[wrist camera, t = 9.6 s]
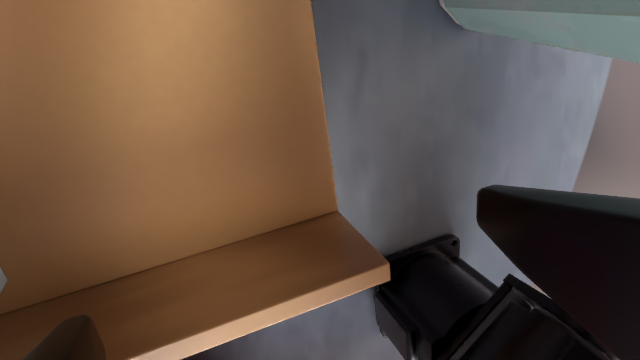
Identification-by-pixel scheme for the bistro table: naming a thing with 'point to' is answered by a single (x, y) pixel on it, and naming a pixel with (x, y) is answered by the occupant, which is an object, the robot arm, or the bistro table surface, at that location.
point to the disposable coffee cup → (557, 23)
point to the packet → (2, 280)
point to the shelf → (167, 174)
